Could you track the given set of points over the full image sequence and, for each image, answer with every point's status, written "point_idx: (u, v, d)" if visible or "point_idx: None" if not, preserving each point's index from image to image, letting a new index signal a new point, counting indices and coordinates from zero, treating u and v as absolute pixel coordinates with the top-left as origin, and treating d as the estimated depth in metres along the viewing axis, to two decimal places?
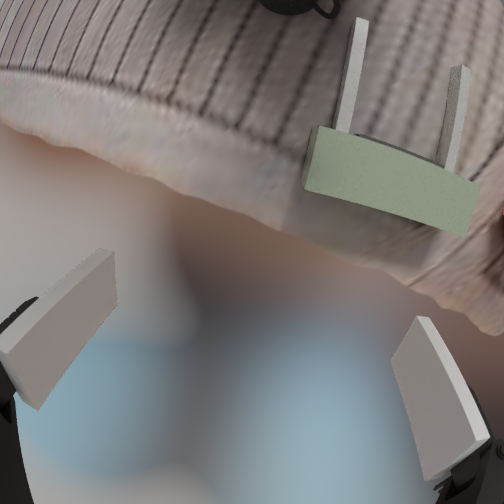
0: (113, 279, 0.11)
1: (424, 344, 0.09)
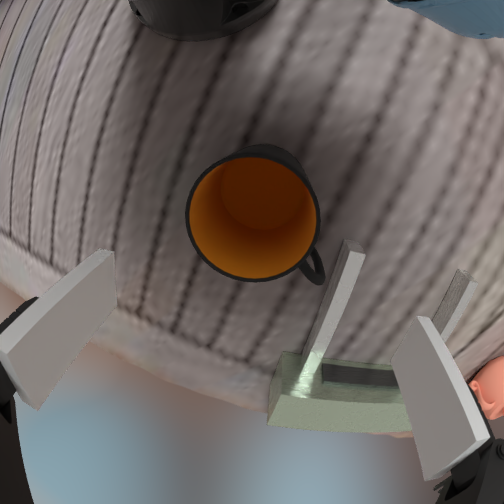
0: (113, 279, 0.11)
1: (424, 344, 0.09)
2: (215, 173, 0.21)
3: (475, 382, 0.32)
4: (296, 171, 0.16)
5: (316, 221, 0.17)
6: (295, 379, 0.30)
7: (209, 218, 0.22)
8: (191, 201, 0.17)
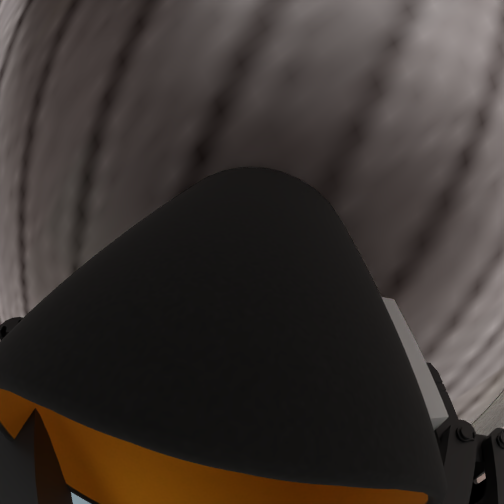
0: None
1: None
2: None
3: None
4: (414, 485, 0.01)
5: None
6: None
7: None
8: (8, 427, 0.03)
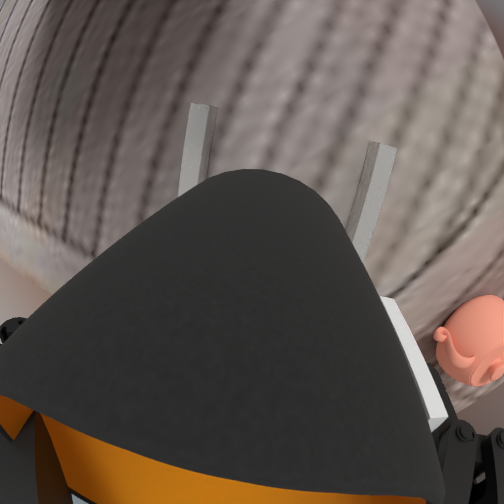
0: None
1: None
2: None
3: (444, 329, 0.27)
4: (410, 491, 0.01)
5: None
6: None
7: None
8: (9, 430, 0.03)
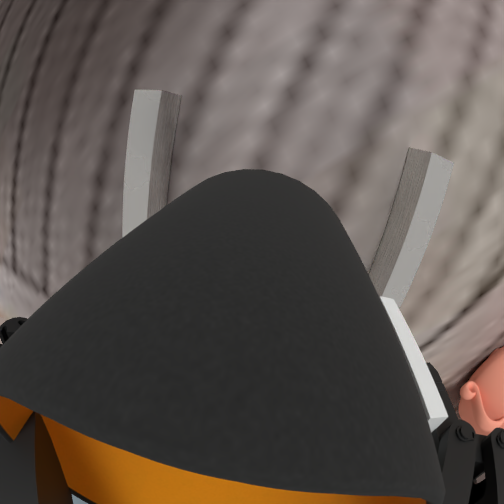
0: None
1: None
2: None
3: (473, 384, 0.19)
4: (411, 492, 0.01)
5: None
6: None
7: None
8: (9, 431, 0.03)
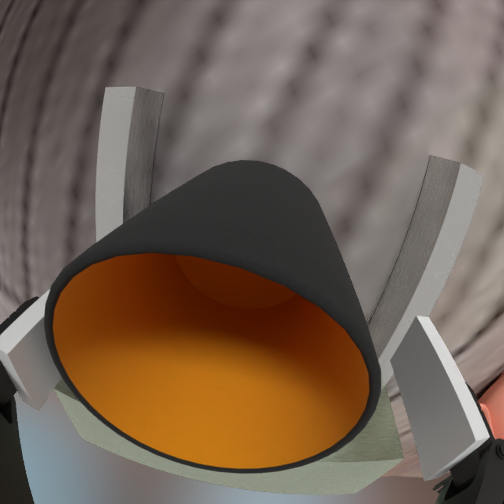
0: None
1: (423, 344, 0.09)
2: None
3: (483, 407, 0.16)
4: (333, 309, 0.04)
5: (364, 408, 0.05)
6: None
7: (135, 322, 0.10)
8: (56, 340, 0.06)
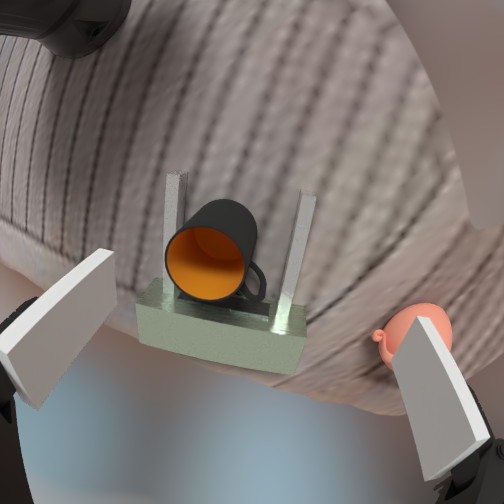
0: (113, 279, 0.11)
1: (424, 344, 0.09)
2: None
3: (381, 331, 0.37)
4: (227, 235, 0.26)
5: (244, 264, 0.27)
6: (153, 295, 0.37)
7: (183, 258, 0.32)
8: (167, 253, 0.27)
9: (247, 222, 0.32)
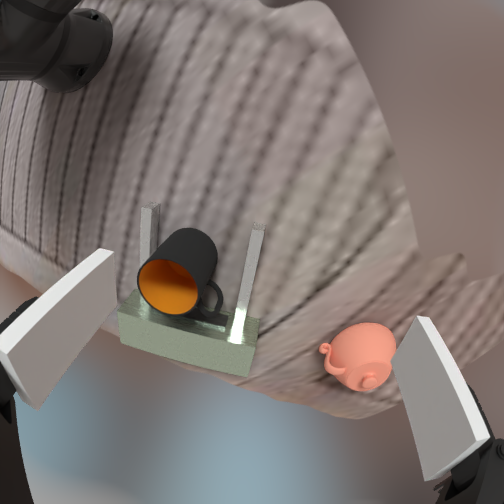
0: (113, 279, 0.11)
1: (424, 344, 0.09)
2: None
3: (328, 345, 0.44)
4: (183, 266, 0.32)
5: None
6: (132, 305, 0.43)
7: (154, 278, 0.38)
8: (139, 277, 0.34)
9: (206, 251, 0.38)
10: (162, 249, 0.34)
